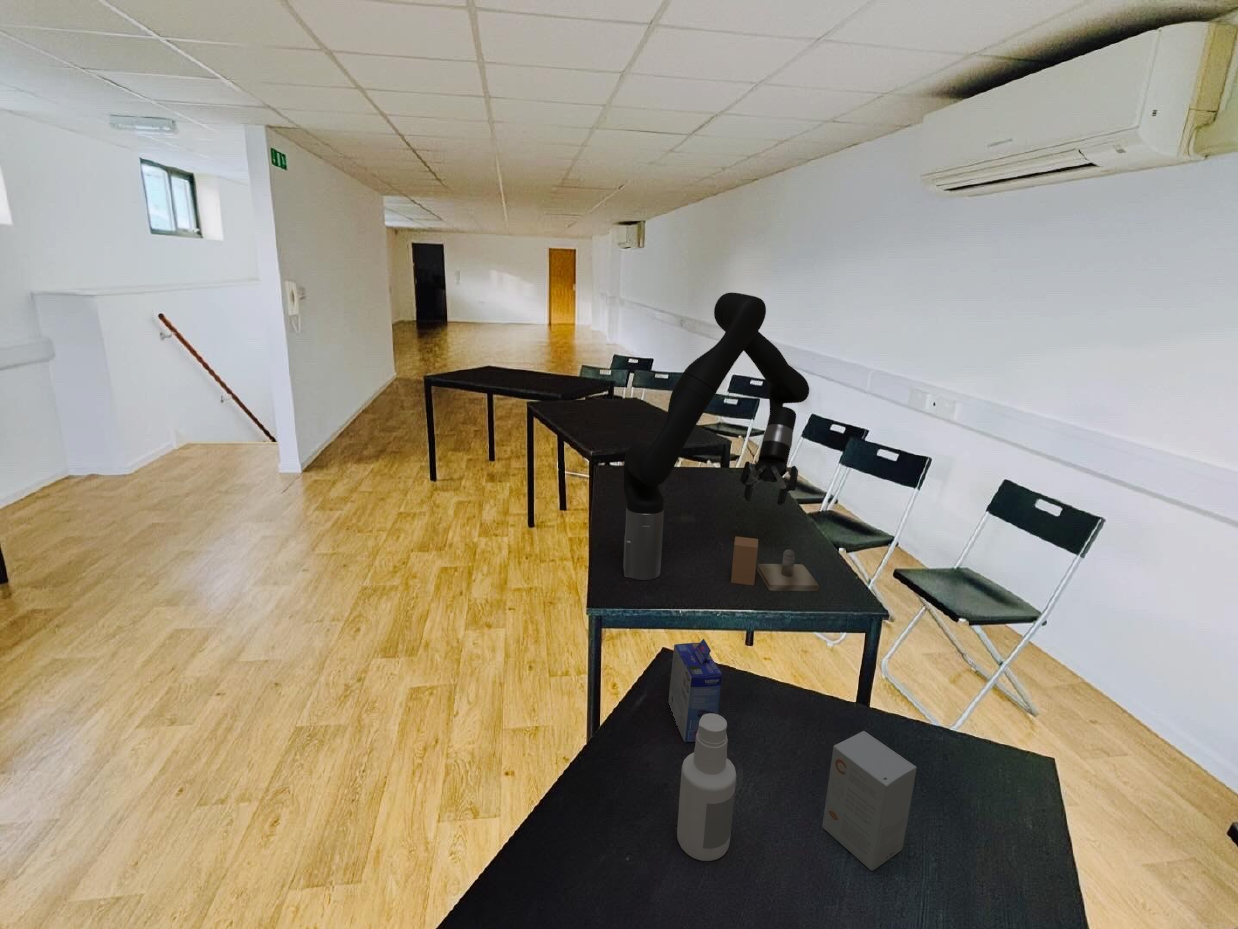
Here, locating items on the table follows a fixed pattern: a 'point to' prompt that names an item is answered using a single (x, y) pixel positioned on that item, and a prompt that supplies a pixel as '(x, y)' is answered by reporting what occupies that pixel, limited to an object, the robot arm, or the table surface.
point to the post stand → (787, 575)
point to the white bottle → (707, 793)
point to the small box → (868, 799)
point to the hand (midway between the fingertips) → (763, 502)
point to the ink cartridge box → (693, 687)
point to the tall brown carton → (744, 560)
